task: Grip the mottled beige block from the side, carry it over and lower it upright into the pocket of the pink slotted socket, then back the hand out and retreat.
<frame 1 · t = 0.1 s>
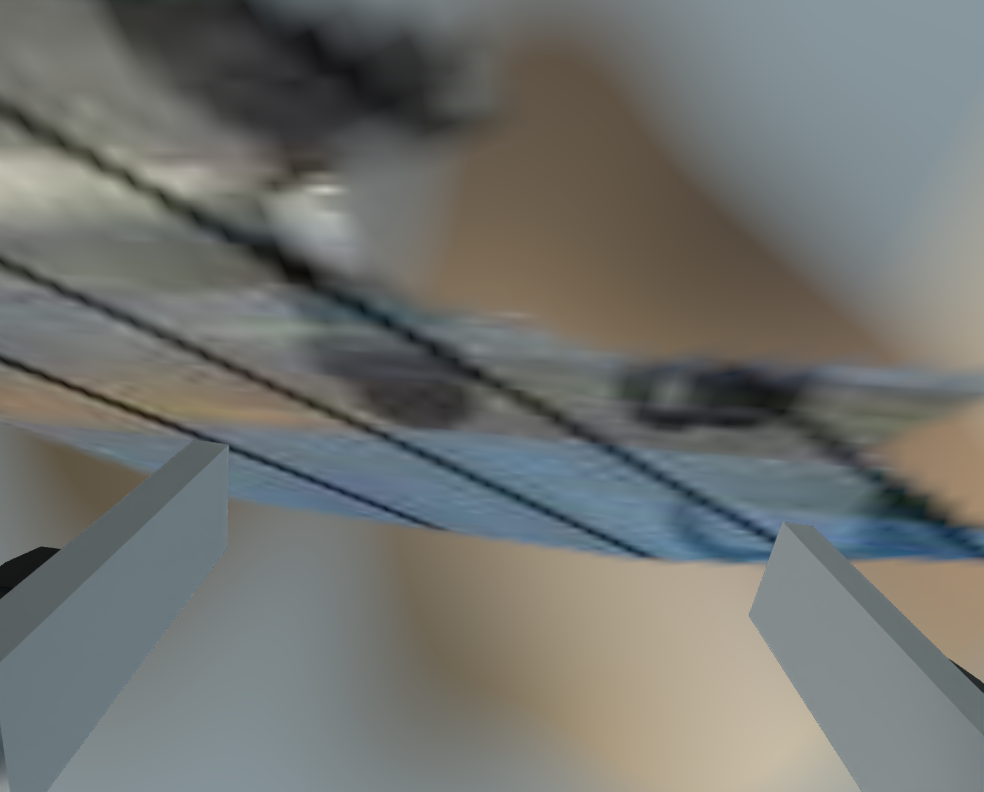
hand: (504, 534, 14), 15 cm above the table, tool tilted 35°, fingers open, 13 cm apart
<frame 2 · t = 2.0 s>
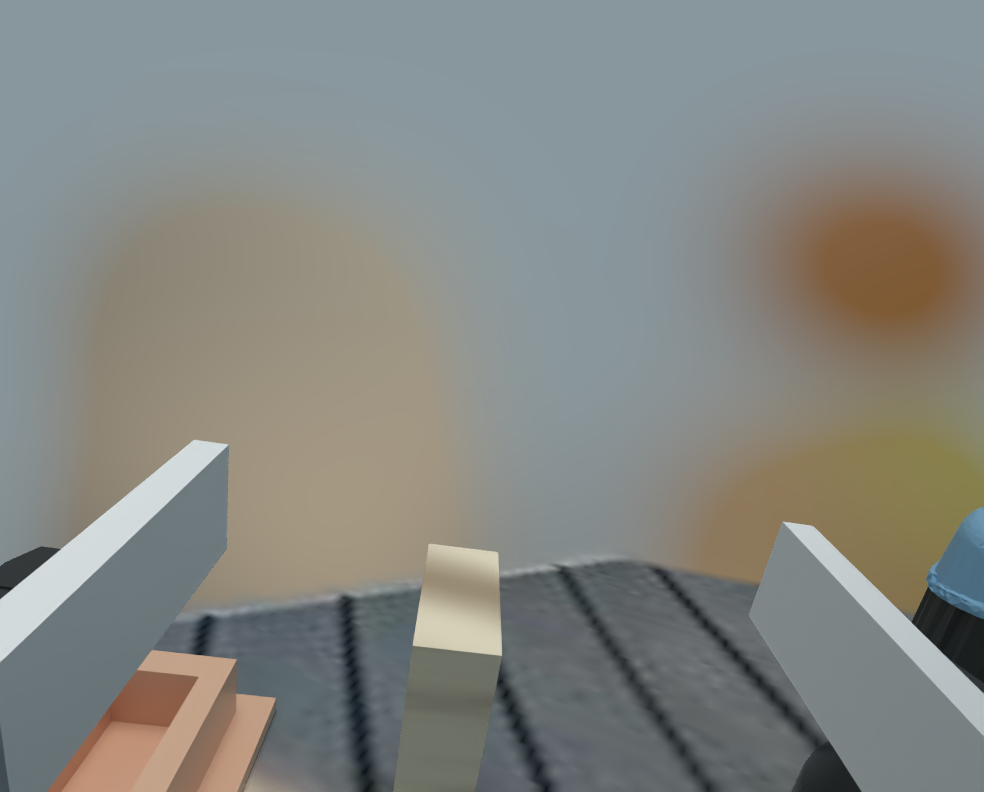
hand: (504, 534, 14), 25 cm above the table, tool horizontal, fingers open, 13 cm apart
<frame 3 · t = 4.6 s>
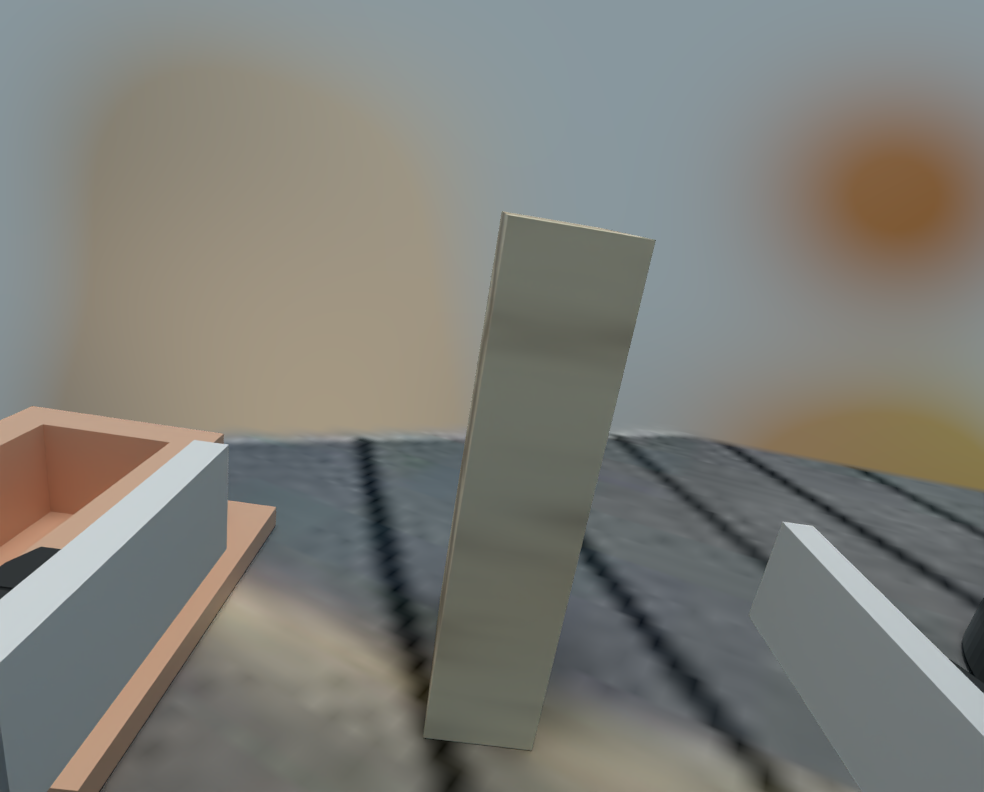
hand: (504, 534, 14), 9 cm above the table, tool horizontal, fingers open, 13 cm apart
mottled beige block: (479, 661, 22), on the table
pink slotted socket: (39, 605, 21), on the table
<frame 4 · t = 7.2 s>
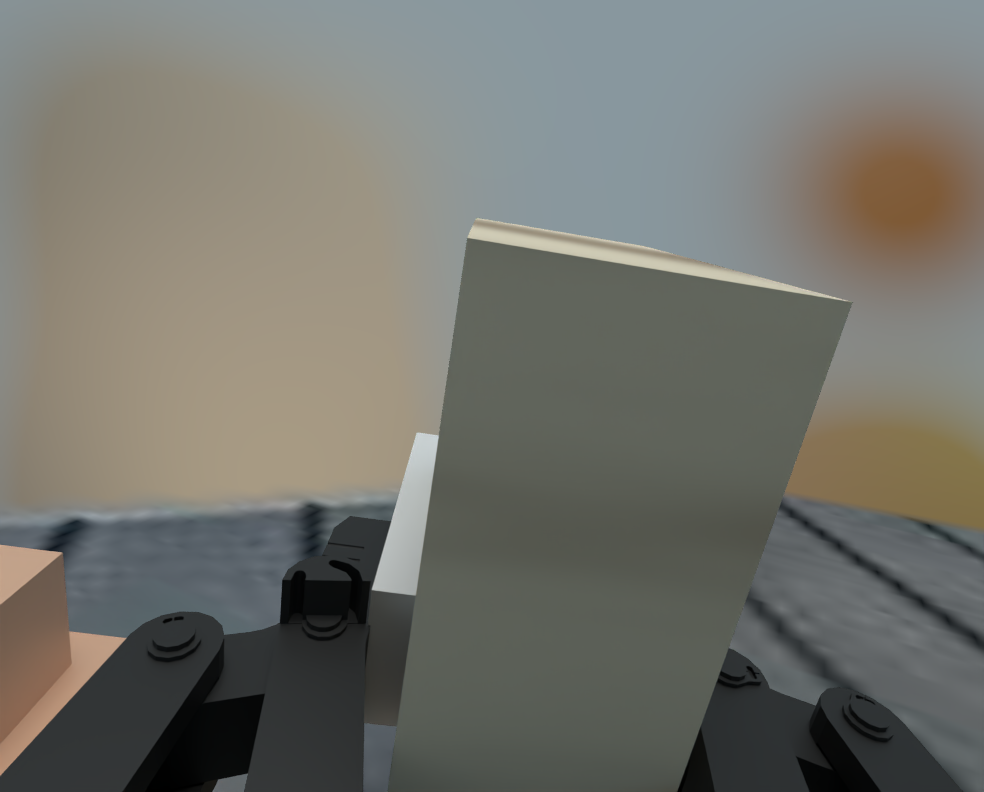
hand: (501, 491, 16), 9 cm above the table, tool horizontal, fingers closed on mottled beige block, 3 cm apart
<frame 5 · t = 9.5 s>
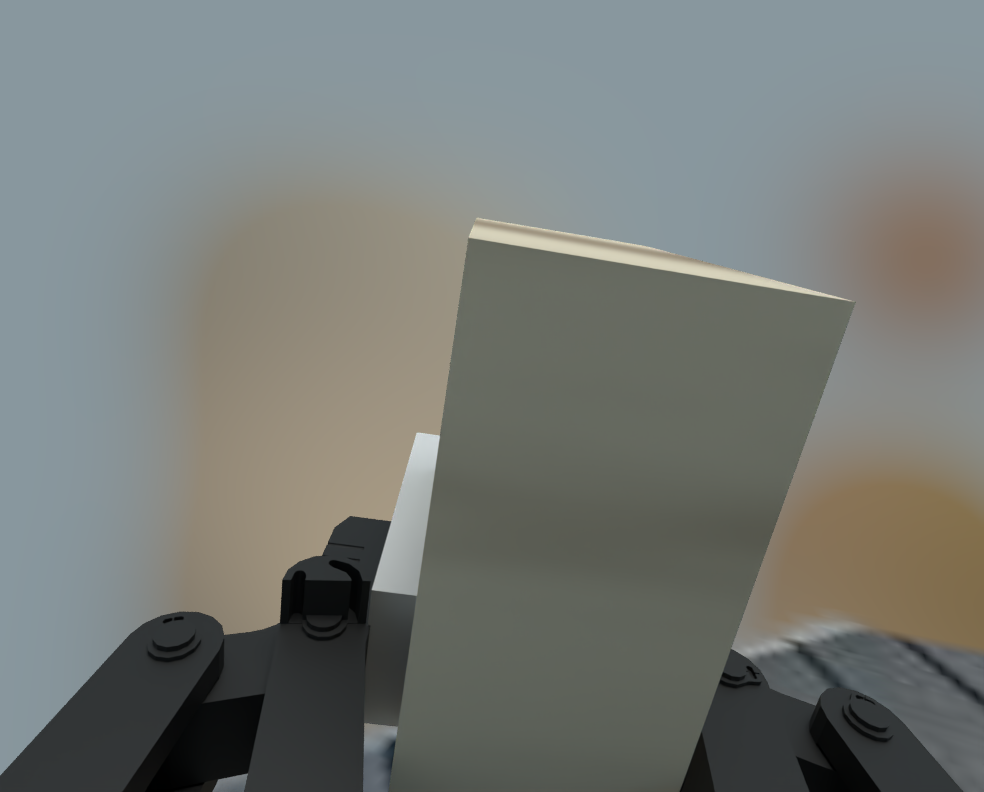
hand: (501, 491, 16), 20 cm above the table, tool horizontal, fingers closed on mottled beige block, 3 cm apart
when the fingers open (12 cm above the table, at t = 11.8 s): mottled beige block drops 1 cm, resting on pink slotted socket.
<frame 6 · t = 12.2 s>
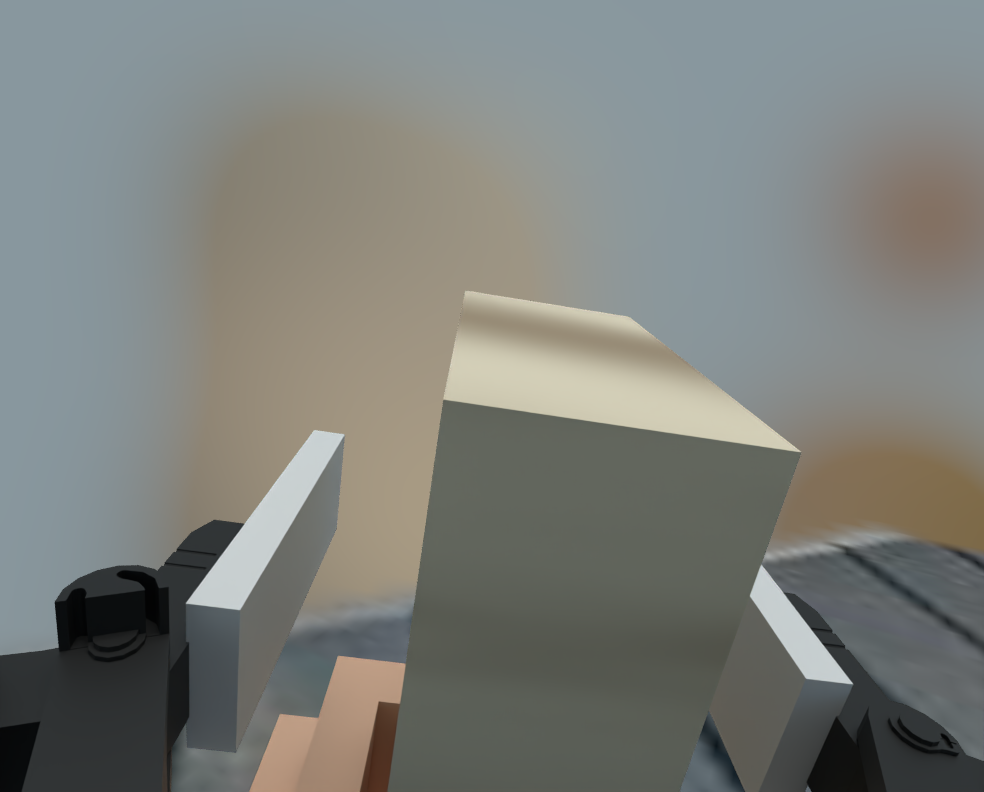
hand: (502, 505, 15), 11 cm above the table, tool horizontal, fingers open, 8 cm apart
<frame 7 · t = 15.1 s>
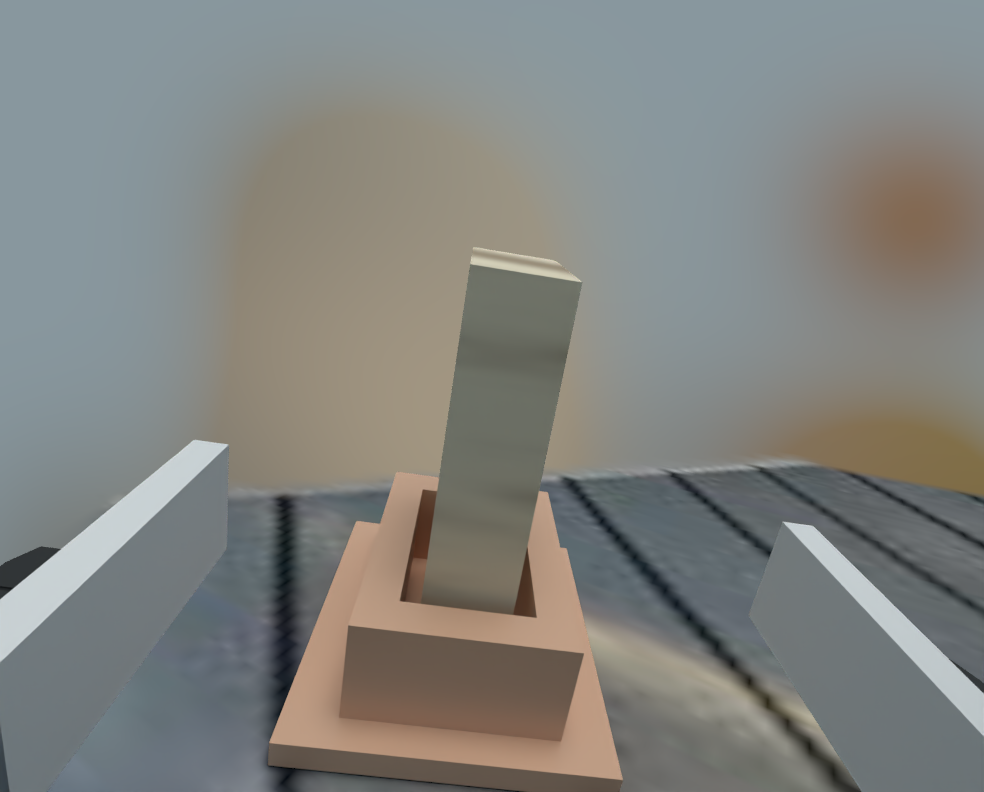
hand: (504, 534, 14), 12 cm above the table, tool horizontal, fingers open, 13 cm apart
mottled beige block: (457, 620, 26), point 1 cm above the table, touching pink slotted socket
pink slotted socket: (454, 637, 26), on the table
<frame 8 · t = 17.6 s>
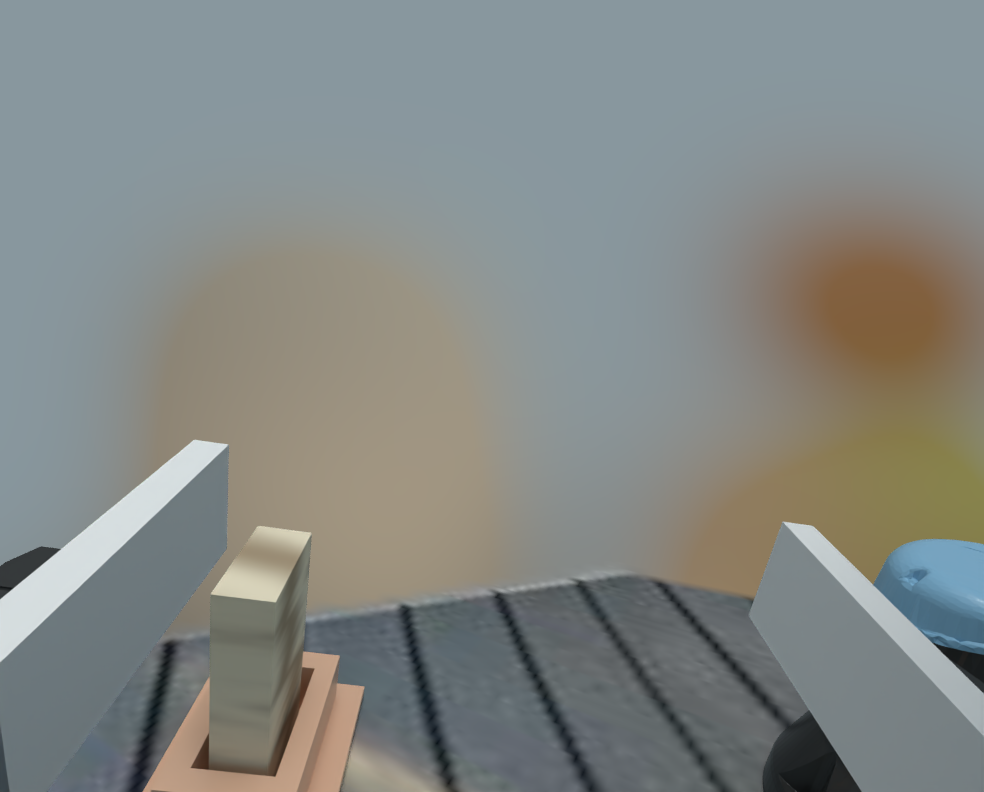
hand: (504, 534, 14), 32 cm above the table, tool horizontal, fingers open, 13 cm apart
mottled beige block: (257, 757, 40), point 1 cm above the table, touching pink slotted socket
pink slotted socket: (256, 768, 40), on the table
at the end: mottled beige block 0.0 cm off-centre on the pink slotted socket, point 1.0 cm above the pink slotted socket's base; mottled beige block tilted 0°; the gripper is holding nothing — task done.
